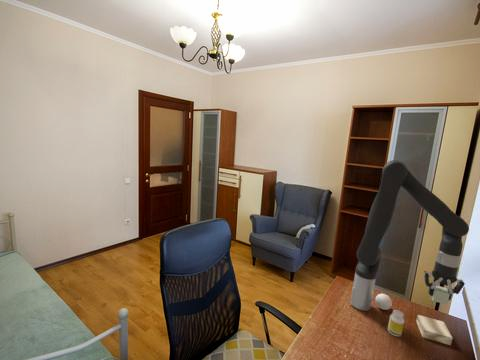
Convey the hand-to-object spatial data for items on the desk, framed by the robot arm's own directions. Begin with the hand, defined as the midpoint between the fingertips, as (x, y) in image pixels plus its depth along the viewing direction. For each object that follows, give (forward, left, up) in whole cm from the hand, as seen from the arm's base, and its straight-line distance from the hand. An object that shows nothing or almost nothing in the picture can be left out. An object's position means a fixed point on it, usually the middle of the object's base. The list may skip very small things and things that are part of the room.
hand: (438, 297), depth 107 cm
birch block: (+1, -1, -18) cm, 18 cm away
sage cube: (0, 0, -1) cm, 1 cm away
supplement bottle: (-15, -9, -18) cm, 25 cm away
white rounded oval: (-19, +5, -18) cm, 26 cm away
